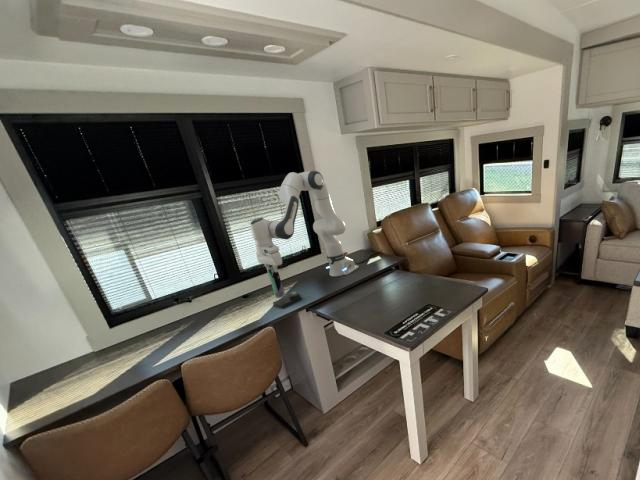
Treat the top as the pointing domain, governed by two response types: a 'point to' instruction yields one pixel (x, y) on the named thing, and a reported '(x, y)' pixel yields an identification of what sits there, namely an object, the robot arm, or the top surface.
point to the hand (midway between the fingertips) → (272, 271)
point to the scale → (287, 301)
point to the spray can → (276, 282)
